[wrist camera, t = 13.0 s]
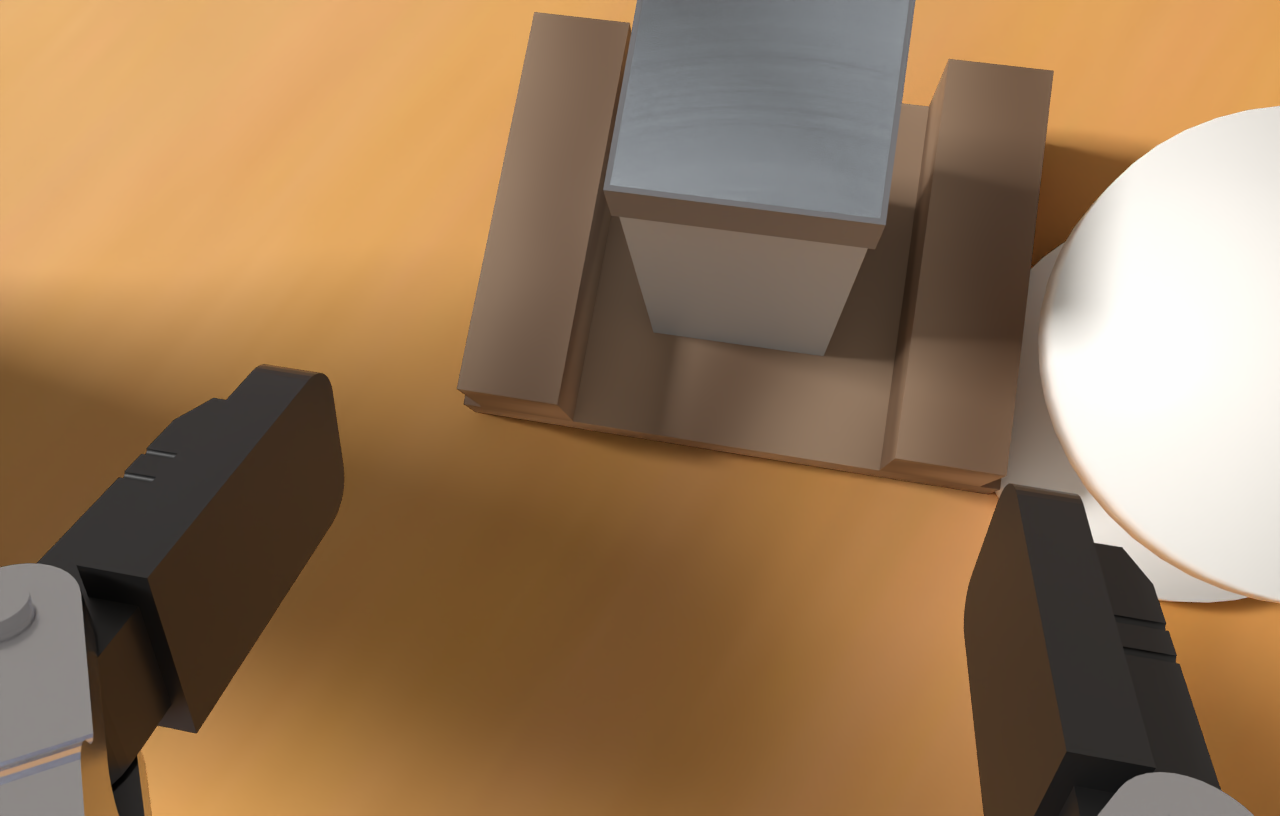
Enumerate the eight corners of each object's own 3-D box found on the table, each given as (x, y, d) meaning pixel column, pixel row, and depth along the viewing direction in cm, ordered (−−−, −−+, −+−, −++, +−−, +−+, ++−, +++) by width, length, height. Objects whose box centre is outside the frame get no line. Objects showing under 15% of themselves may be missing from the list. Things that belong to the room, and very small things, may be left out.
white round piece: (895, 354, 27) (952, 276, 20) (1202, 158, 27) (1360, 16, 21) (1125, 678, 25) (1272, 712, 18) (1453, 465, 26) (1720, 420, 19)
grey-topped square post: (827, 360, 26) (885, 224, 16) (649, 335, 27) (603, 189, 17) (850, 191, 27) (920, -36, 17) (676, 169, 27) (648, -62, 18)
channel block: (474, 411, 28) (436, 385, 24) (541, 80, 30) (515, 9, 26) (987, 494, 26) (1029, 479, 23) (1029, 139, 28) (1074, 73, 24)
